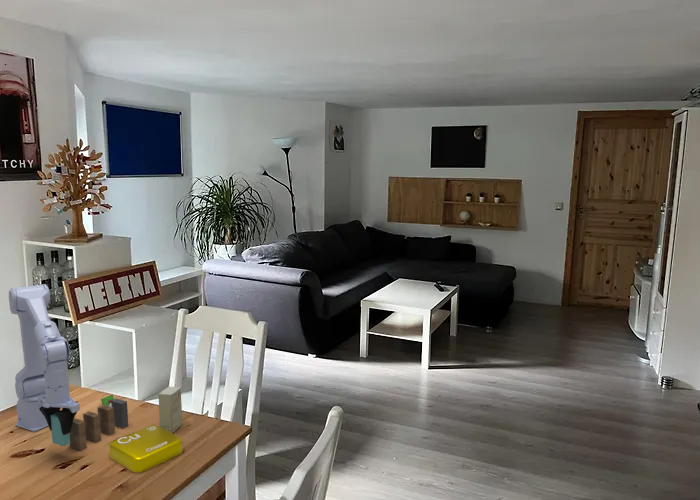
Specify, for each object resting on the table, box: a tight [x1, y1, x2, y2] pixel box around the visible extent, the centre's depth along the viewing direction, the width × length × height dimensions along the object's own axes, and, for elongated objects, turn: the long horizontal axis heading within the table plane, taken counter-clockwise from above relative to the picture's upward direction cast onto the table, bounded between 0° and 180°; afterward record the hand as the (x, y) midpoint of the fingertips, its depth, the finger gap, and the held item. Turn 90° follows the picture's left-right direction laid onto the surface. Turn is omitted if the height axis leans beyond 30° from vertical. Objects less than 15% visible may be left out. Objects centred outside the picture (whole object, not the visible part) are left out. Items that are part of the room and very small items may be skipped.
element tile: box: [108, 424, 183, 474], centre depth 157 cm, size 15×15×5 cm
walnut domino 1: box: [69, 417, 87, 452], centre depth 159 cm, size 4×2×8 cm, turn 64°
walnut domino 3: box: [97, 404, 116, 436], centre depth 168 cm, size 4×2×8 cm, turn 64°
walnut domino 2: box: [82, 410, 102, 444], centre depth 164 cm, size 4×2×8 cm, turn 64°
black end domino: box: [111, 398, 129, 429], centre depth 173 cm, size 4×2×8 cm, turn 64°
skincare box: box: [157, 385, 183, 434], centre depth 171 cm, size 6×4×12 cm
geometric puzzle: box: [100, 393, 115, 407], centre depth 179 cm, size 7×7×8 cm
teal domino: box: [51, 414, 70, 447], centre depth 154 cm, size 4×2×8 cm, turn 64°
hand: (60, 431), depth 154 cm, fingers closed on teal domino, 4 cm apart
